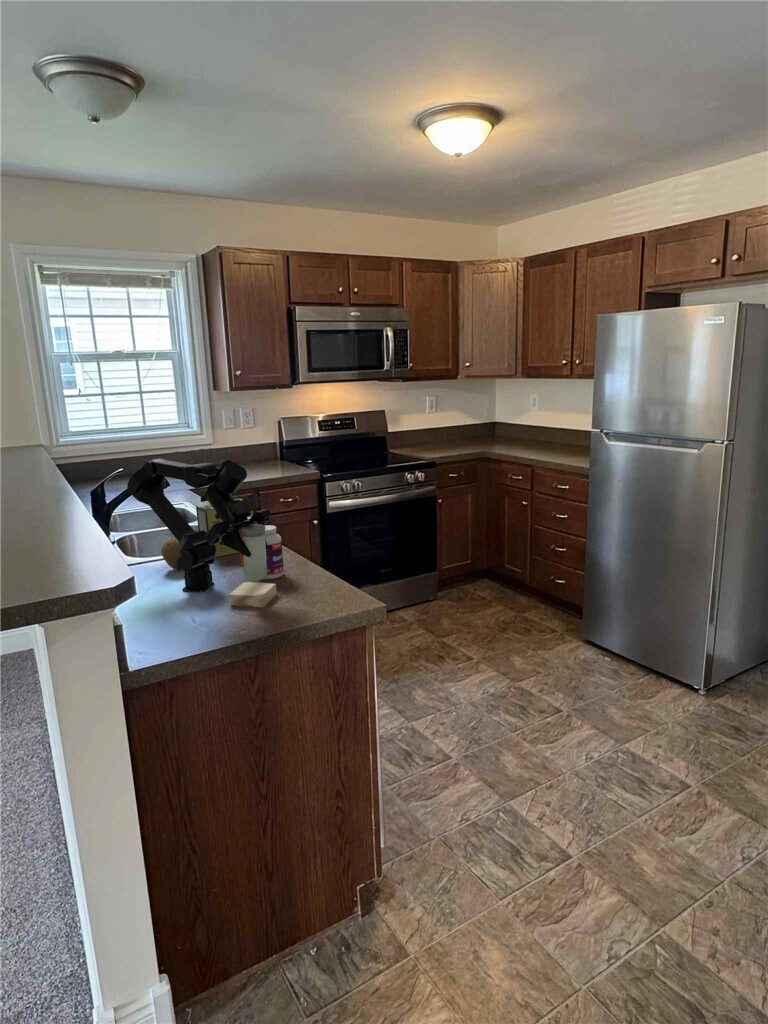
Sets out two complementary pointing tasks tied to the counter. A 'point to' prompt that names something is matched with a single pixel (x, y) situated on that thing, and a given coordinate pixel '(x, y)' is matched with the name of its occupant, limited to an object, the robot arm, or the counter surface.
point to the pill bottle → (273, 553)
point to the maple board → (252, 594)
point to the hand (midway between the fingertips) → (258, 552)
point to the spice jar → (255, 551)
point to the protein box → (207, 521)
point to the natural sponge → (171, 552)
